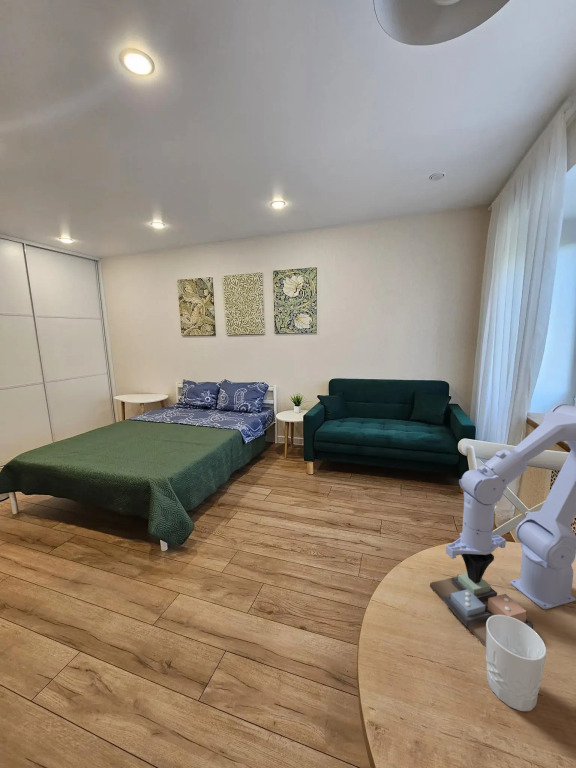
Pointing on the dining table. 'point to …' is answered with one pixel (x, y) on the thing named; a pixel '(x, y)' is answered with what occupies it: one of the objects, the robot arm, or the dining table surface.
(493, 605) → the tile two
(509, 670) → the white cup
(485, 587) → the tile one
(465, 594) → the tile three
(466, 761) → the dining table surface
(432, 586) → the board
